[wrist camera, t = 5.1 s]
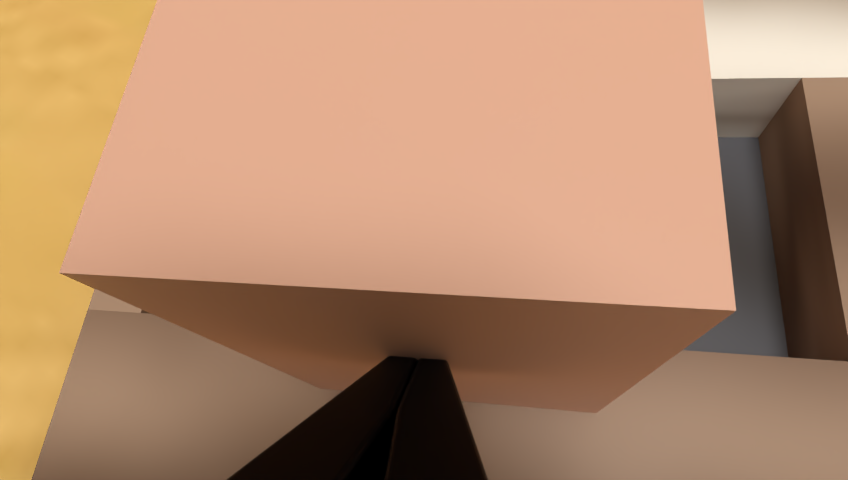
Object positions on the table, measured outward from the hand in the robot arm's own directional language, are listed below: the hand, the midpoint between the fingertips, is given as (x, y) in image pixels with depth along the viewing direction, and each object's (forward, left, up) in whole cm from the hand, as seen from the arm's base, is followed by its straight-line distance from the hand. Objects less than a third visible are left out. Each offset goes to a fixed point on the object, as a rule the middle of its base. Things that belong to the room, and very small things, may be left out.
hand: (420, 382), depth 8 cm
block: (+2, +3, -4) cm, 6 cm away
